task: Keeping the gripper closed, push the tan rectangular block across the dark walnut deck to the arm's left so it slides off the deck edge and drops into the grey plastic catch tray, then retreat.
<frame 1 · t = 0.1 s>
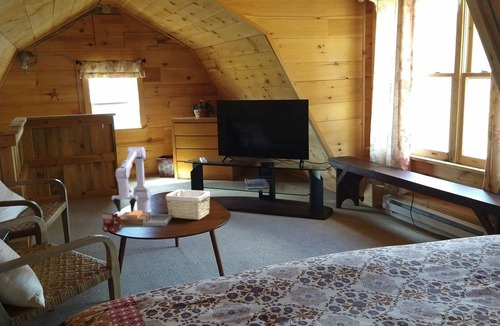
hand: (125, 211, 250), 10 cm above the table, fingers open, 7 cm apart
catch tray: (158, 222, 261), on the table
tan rectangular block: (135, 215, 261), point 4 cm above the table, touching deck
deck: (134, 222, 262), on the table
storage basket: (189, 215, 272), on the table
toy fire truck: (113, 231, 248), on the table
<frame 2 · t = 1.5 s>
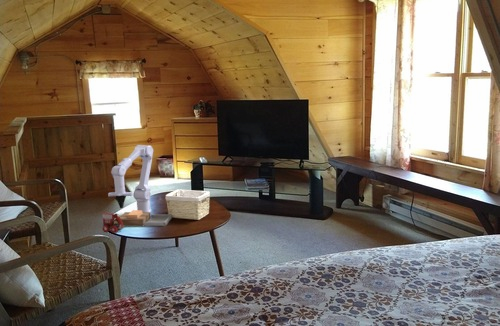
hand: (121, 207, 261), 9 cm above the table, fingers closed
nothing on the table moved.
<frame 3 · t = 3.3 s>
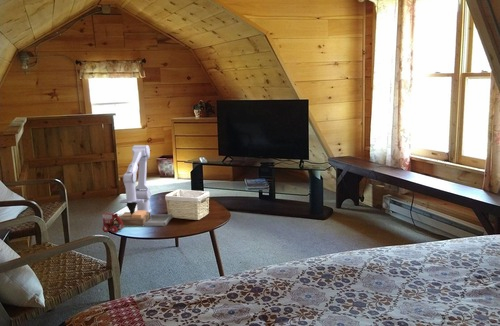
hand: (132, 214, 261), 5 cm above the table, fingers closed
tan rectangular block: (139, 215, 261), point 4 cm above the table, touching gripper
everything else where it was.
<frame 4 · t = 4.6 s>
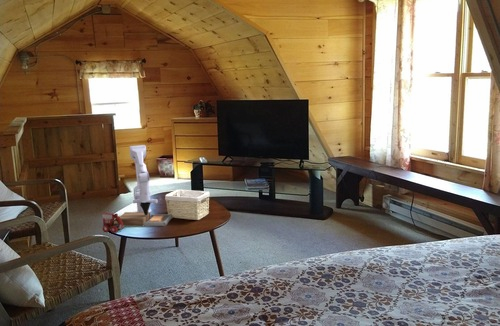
hand: (146, 214, 260), 5 cm above the table, fingers closed
tan rectangular block: (156, 218, 260), point 3 cm above the table, tilted 180°, touching catch tray
everything else where it was.
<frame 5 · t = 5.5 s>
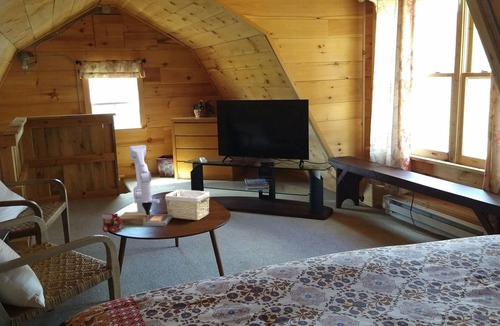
hand: (148, 214, 260), 5 cm above the table, fingers closed
nothing on the table moved.
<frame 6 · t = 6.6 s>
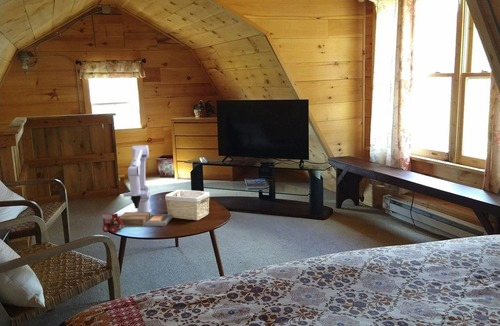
hand: (137, 207, 260), 9 cm above the table, fingers closed
nothing on the table moved.
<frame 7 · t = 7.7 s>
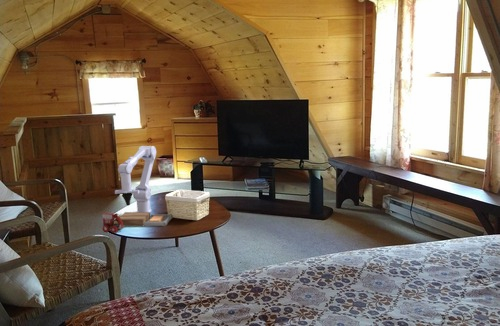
hand: (128, 205, 263), 10 cm above the table, fingers closed
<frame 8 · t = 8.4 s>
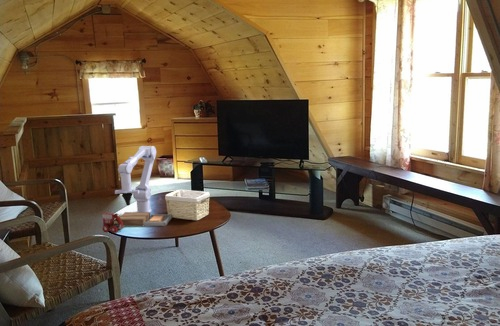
hand: (128, 205, 263), 10 cm above the table, fingers closed
at the end: tan rectangular block point 2.6 cm above the table; tan rectangular block inside the target area on the catch tray (0.9 cm from its centre), point 2.6 cm above the catch tray's base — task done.
